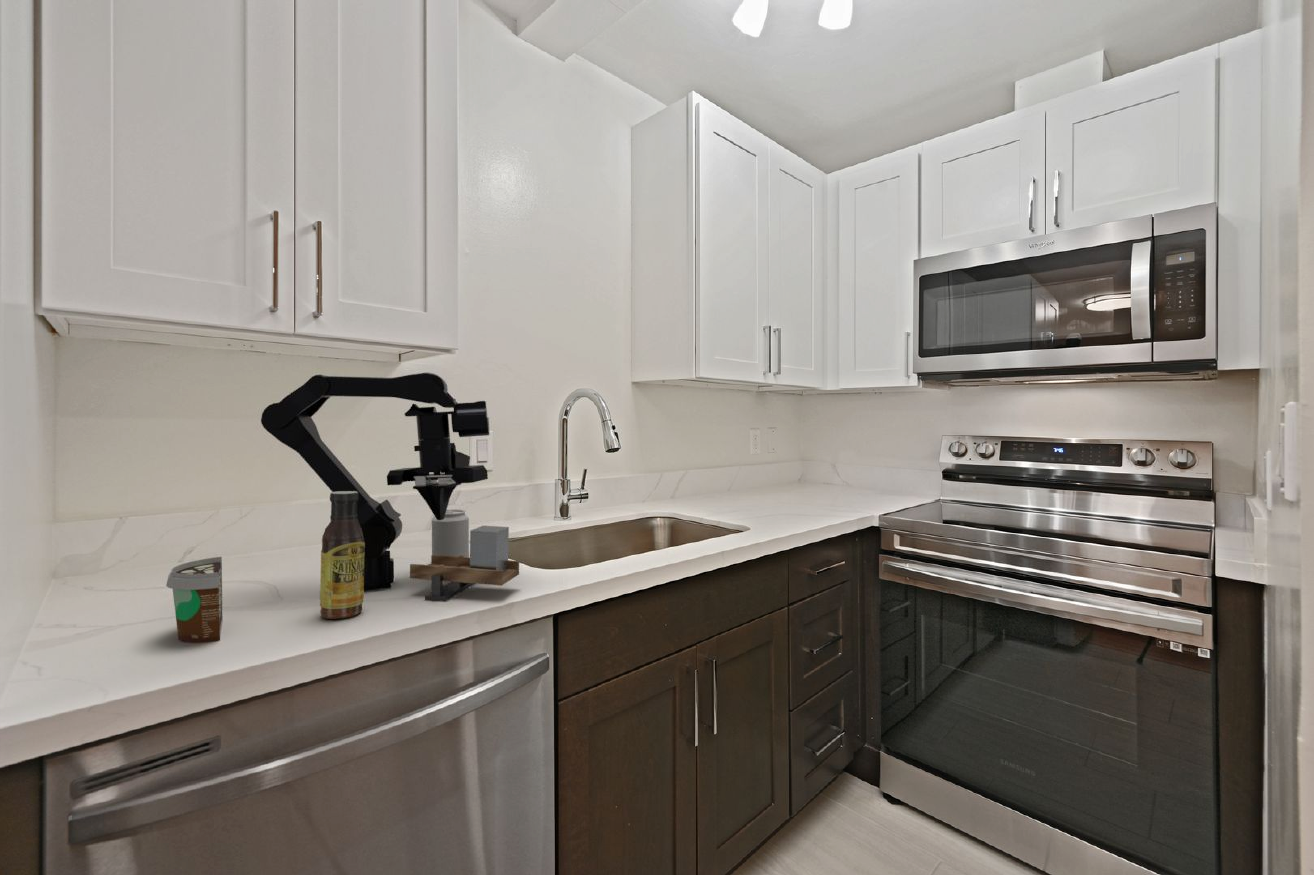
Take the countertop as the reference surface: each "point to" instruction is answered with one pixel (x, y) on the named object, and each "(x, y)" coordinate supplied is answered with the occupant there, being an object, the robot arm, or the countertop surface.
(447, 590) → the stand
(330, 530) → the sauce bottle
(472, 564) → the steel block
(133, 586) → the countertop surface
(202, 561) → the food container
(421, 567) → the beam
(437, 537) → the can
